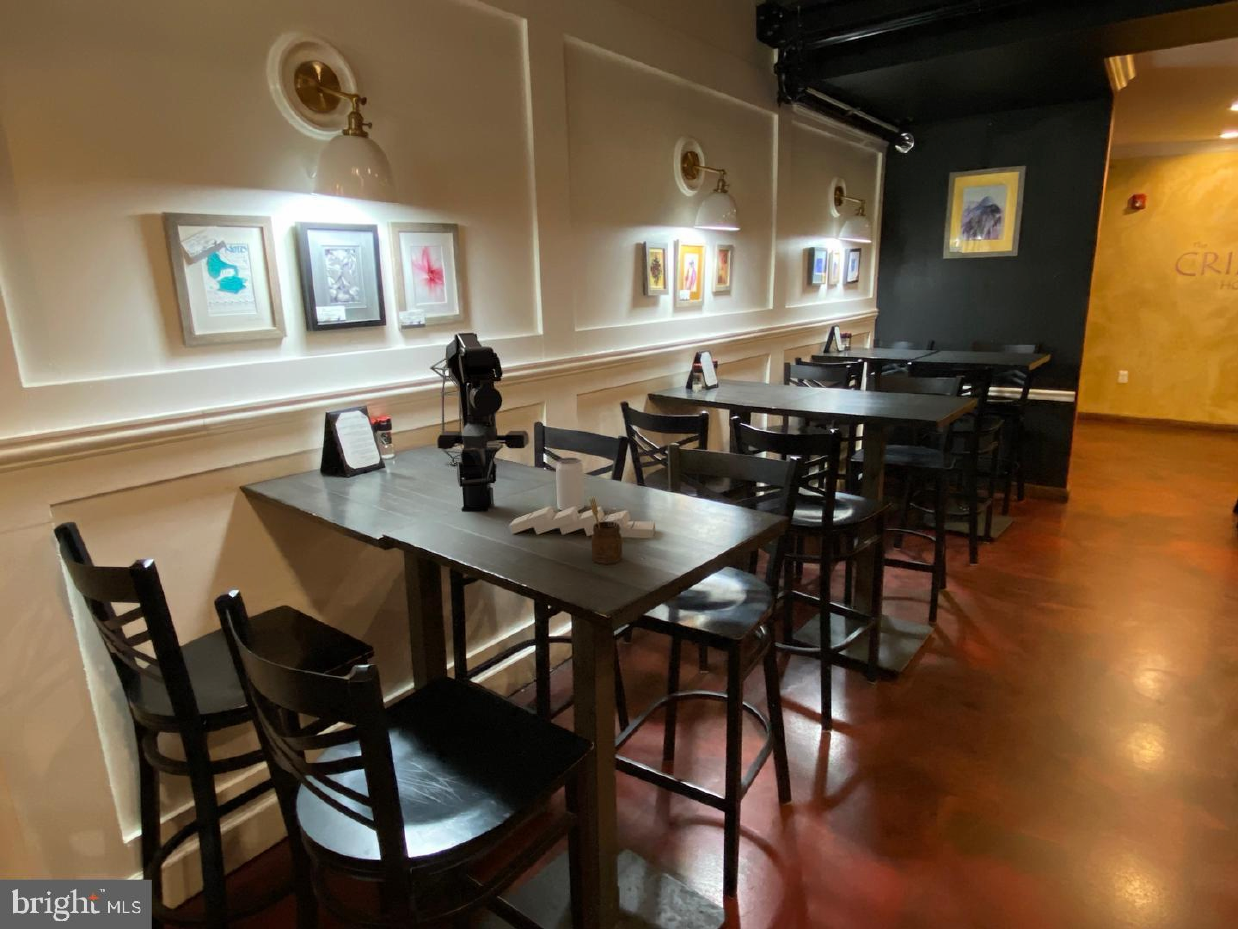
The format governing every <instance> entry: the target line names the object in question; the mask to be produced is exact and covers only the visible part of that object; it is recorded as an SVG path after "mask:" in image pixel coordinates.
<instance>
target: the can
mask: <svg viewBox="0 0 1238 929" xmlns="http://www.w3.org/2000/svg"><path fill="white" fill-rule="evenodd" d="M555 478H556V483H555V484H556V501H557V502H556V503H557V504H556V505H557V509H558V510H559V512H561V511H564V510H566V509H569V508H572V507H575V506H576V509H577V511H578V512H580V511H583V509H584V507H585V495H584V494H585V491H584V489H585V488H584V487H585V486H584V466H583V464H582V459H581V458H578V457H562V458H560V459H558V460H557V464H556V466H555Z"/></svg>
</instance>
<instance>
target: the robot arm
mask: <svg viewBox="0 0 1238 929" xmlns="http://www.w3.org/2000/svg"><path fill="white" fill-rule="evenodd" d="M453 338H454V339H453V340H452V341H451V342H450V343H449V344H447V345H446V347H445V358H446V360H445V365H446V366H447V368H449V370H450V378H452V379H453V382H454V383H455V384H456V386H457V387H458V389H457V390H458V391H457V392H458V394H459V396H458V400H459V399H460V408H461V427H462V430H461V431H459V430H445V432H444V433H442V432H441V434H440V435H439V436H438V437H437V440H436V442H437V449H441V450H442V449H447V450H451V449H453V448H454V447H453V446H454V445H457V444H463V445H462V446H463V447H462V448H463V450H462V449H461V451H460V452H461V453H459V454H460V456H458V458H460V459H459V460H460V462H457V464H458V466H457V468H456V476H457V478H456V479H457V483H458V486H459V487H460V488H461V487H462V490H461V492H462V501H463V503H462V505H463V506H462V507H461V508H460V509H461V511H466V512H467V511H469V512H470V511H471V512H473V511H474V512H475V511H476V512H477V511H478V512H479V511H481V512H485V511H486V512H487V511H489V509H491V507H492V506H494V504H495V502H494V488H493V487H492V484H495V483H496V481H497V464H496V463H495V457H496V455H497V453H498V452H500V451H501V449H503V448H504V445H505V447H507V448H508V449H525V448H526V447H527V446H528V444H529V443H530V439H529V433H528V432H527V431H526V430H509V431H508V432H507V433H506V434H498V428H497V420H496V419H497V418H496V415H497V412H499V411H500V409H501V407H502V405H503V396H502V395H501V393H500V391H499V390H498V389H496V388H495V382H496V383H497V382H502V378H503V374H504V373H503V369H502V364H501V361H500V360H501V359H500V357H498V353H497V352H494V349H493V348H492V347H491V346H485V345H484V346H482V344H481V343H480V341H479V340H478V334H477V333H475V332H458V333H457V334H454V337H453ZM449 370H448V371H449Z"/></svg>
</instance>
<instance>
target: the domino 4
mask: <svg viewBox="0 0 1238 929" xmlns="http://www.w3.org/2000/svg"><path fill="white" fill-rule="evenodd" d="M616 514H617V516H616ZM610 515H611V517H612V520H611V517H610ZM607 516H608V517H607ZM618 516H619V518H618ZM614 519H615V521H614ZM618 519H619V520H618ZM631 519H632V517H631V515H630V512H629V509H625V510H622V511H620V515H619V513H618V512H615V513H609V515H608V514H607V515H604V516H603V518H602V519H601V521H600V522H605V521H610V522H615V523H617V522H618V524H619V526H620V528H621V527H625V526H626V524H627V523H628V522H629V521H630V520H631ZM594 525H595V524H593V525H590V526H587V527H584V528H583V529H584V532H585V534H586V537H589V536H593V534H594V532H593V527H594Z"/></svg>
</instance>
